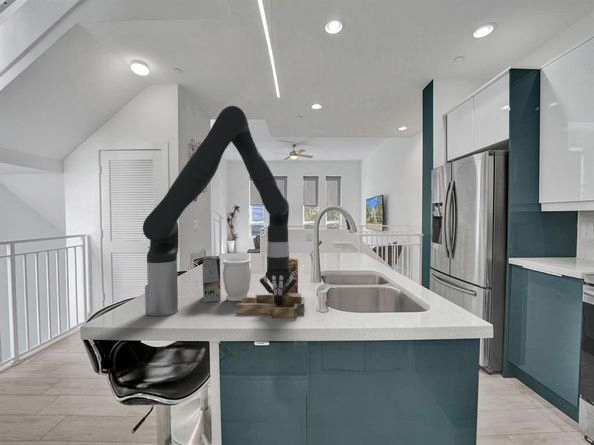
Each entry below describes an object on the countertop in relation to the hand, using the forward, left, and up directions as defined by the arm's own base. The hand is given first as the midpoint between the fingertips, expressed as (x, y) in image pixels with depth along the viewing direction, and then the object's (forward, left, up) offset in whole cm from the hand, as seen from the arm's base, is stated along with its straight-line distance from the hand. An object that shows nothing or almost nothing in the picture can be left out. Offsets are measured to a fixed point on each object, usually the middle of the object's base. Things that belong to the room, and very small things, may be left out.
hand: (278, 305), depth 107 cm
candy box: (+2, +12, -2) cm, 13 cm away
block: (+5, 0, -1) cm, 5 cm away
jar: (-17, +13, -2) cm, 22 cm away
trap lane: (-2, 0, -1) cm, 3 cm away
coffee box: (-27, +13, -2) cm, 31 cm away
